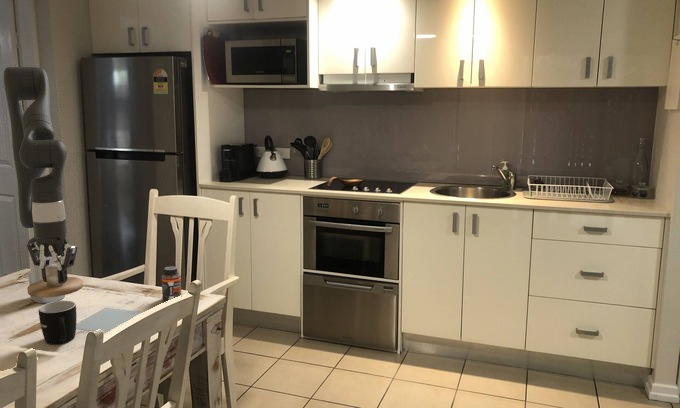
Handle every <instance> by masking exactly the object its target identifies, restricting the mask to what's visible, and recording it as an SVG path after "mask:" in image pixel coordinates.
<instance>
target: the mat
mask: <svg viewBox="0 0 680 408" xmlns="http://www.w3.org/2000/svg"><path fill="white" fill-rule="evenodd" d="M142 312H143V311H138V310H130V309H120V308H113V307H112V308H111V307H103V308H102V309H100V310H98V311H97V312H95V313H93V314H91V315H90V316H88V317H86V318H84V319H83V320H80V321H79V322H76V330H79V331H82V330H83V331H88V332H89V331H91V332H96V331H95V330H98V329H101V330H103V331H104V332H103V333H105V332H108V331H110V330H111V329H113V328H115V327H117V326H118V325H120V324H122V323H124V322H126V321H128V320H130V319H131V318H133V317H134V316H136V315H138V314H140V313H142Z"/></svg>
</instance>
